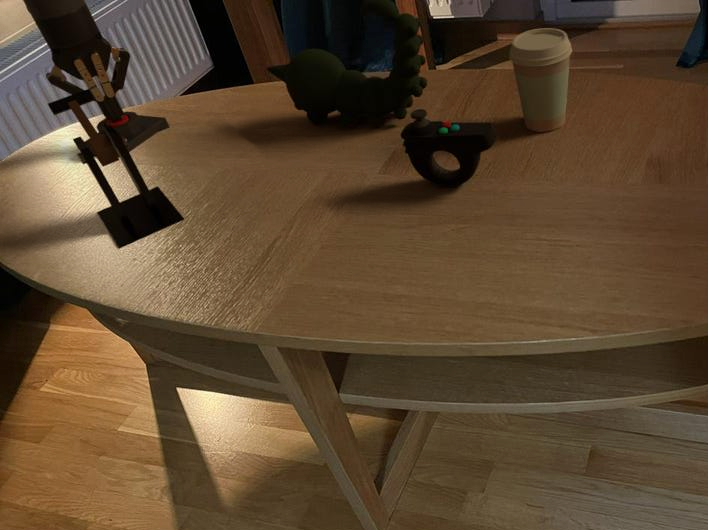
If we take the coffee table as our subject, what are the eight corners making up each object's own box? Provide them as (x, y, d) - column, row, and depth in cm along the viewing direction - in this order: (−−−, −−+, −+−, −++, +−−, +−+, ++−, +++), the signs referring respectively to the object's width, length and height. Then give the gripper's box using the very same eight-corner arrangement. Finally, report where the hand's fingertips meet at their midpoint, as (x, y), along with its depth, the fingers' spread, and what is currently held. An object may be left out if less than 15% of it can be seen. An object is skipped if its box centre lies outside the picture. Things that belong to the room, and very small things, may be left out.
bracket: (100, 219, 100) (50, 135, 91) (161, 193, 103) (118, 110, 94) (123, 254, 92) (70, 167, 83) (187, 225, 95) (143, 138, 86)
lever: (53, 113, 94) (44, 98, 92) (93, 98, 96) (85, 83, 94) (90, 172, 89) (81, 157, 87) (132, 155, 91) (125, 140, 89)
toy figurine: (436, 113, 113) (291, 106, 117) (424, -13, 100) (261, -17, 104) (421, 142, 107) (268, 133, 111) (407, 11, 93) (233, 6, 97)
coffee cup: (586, 123, 101) (584, 37, 92) (535, 143, 99) (528, 57, 90) (554, 103, 107) (549, 21, 98) (505, 121, 104) (496, 39, 96)
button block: (124, 163, 111) (112, 139, 109) (85, 157, 115) (72, 135, 112) (171, 129, 118) (160, 107, 115) (132, 125, 122) (121, 103, 119)
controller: (418, 174, 97) (403, 104, 90) (504, 175, 94) (496, 103, 87) (408, 191, 94) (392, 120, 87) (497, 192, 91) (488, 119, 84)
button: (121, 136, 113) (116, 126, 112) (106, 134, 114) (100, 124, 113) (137, 125, 115) (132, 115, 114) (121, 123, 117) (116, 113, 115)
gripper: (15, 27, 97) (81, 143, 109) (109, -3, 101) (162, 111, 113) (6, 16, 102) (71, 128, 114) (96, -12, 106) (149, 98, 118)
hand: (116, 119), depth 114 cm, fingers closed
